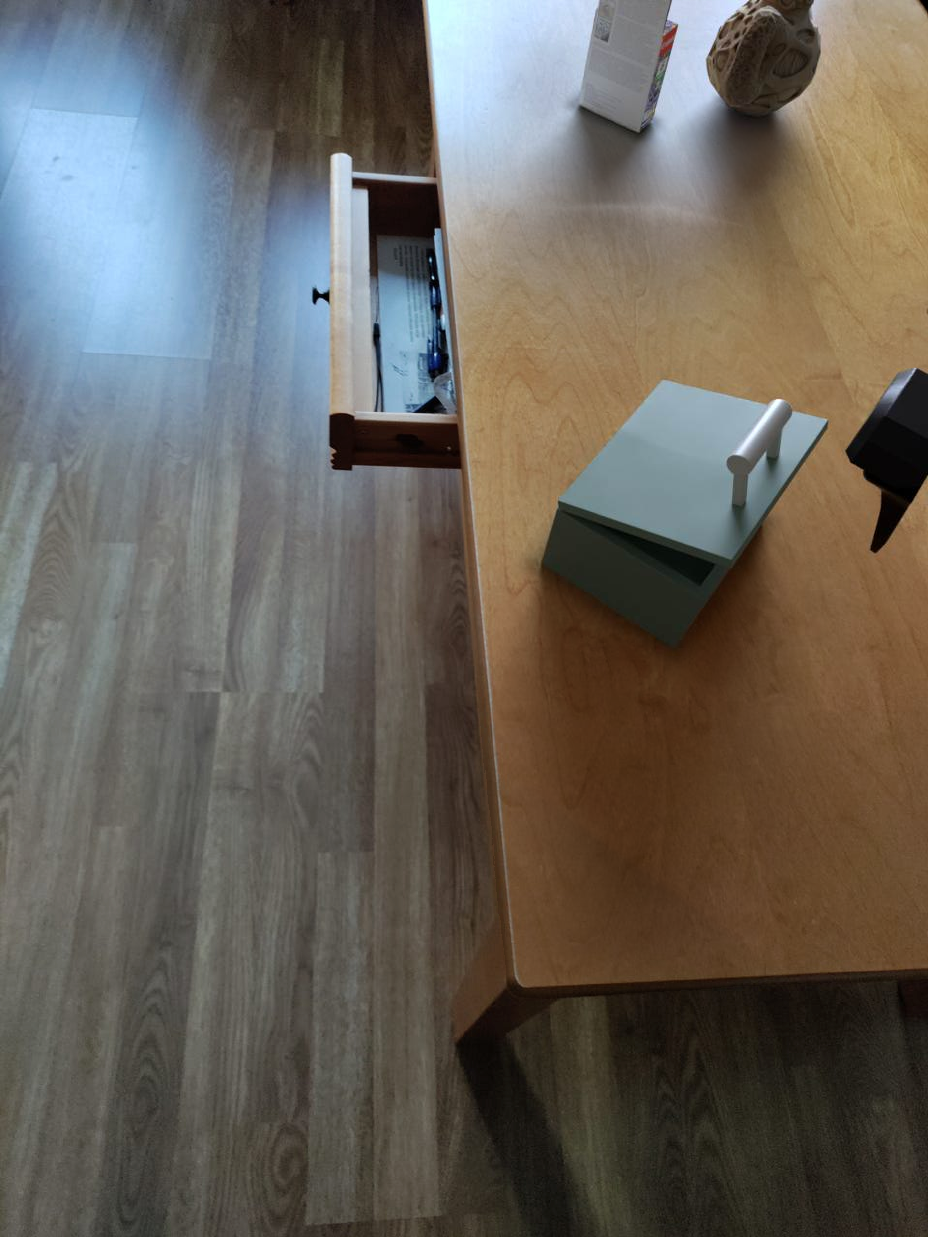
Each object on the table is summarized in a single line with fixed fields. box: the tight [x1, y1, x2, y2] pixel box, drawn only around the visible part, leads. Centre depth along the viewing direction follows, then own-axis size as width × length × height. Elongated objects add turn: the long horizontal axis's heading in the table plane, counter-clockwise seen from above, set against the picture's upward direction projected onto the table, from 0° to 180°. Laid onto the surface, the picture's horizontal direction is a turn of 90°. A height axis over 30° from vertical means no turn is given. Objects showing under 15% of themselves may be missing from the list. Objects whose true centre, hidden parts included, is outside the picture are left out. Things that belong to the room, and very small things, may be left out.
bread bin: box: [540, 506, 731, 650], centre depth 63 cm, size 12×15×7 cm
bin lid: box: [557, 379, 830, 570], centre depth 56 cm, size 12×15×5 cm
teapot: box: [705, 0, 822, 118], centre depth 90 cm, size 21×12×15 cm, turn 154°
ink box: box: [577, 0, 679, 134], centre depth 88 cm, size 4×8×15 cm, turn 55°
